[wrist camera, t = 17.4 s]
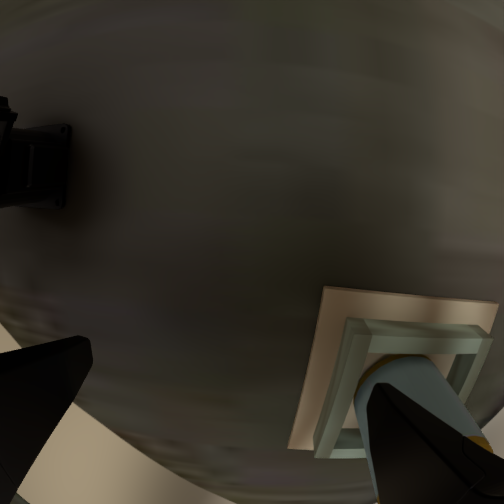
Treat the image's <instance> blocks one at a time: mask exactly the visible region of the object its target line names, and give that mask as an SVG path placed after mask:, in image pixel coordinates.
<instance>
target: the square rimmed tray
mask: <svg viewBox="0 0 504 504" xmlns="http://www.w3.org/2000/svg"><path fill="white" fill-rule="evenodd" d="M498 306H499V304H498V303H496V302H493V301H480V300H467V299H455V298H444V297H432V296H421V295H410V294H400V293H390V292H380V291H370V290H360V289H351V288H342V287H332V286H324V287H323V292H322V298H321V303H320V309H319V314H318V319H317V324H316V329H315V334H314V339H313V343H312V348H311V353H310V357H309V362H308V366H307V371H306V375H305V379H304V383H303V388H302V392H301V396H300V400H299V404H298V408H297V412H296V415H295V419H294V423H293V427H292V431H291V434H290V438H289V441H288V449H301V450H314V458H367V457H366V452H365V448H364V445H363V441H362V437H361V433H360V429H359V425H358V421H357V418H356V414H355V410H354V405H353V396H354V393H355V391H356V388H357V385H358V383H359V381H360V380H361V379H362V377H363V376H364V375H365V373H366V372H367V371H368V370H370V369H371V368H372V367H373V366H375V365H376V364H377V363H379V362H380V361H382V360H384V359H386V358H388V357H390V356H393V355H396V354H422V355H425V356H427V357H428V358H430V360H431V361H432V362H433V363H434V364H435V365H436V367H437V368H438V369H439V371H440V372H441V373H442V375H443V376H444V378H445V379H446V380H447V382H448V383H449V384H450V386H451V387H452V389H453V390H454V391H455V393H456V394H457V396H458V397H459V399H460V400H461V402H462V403H463V404H465V402H466V400H467V398H468V396H469V394H470V392H471V390H472V388H473V386H474V384H475V382H476V380H477V377H478V375H479V373H480V371H481V368H482V366H483V364H484V361H485V359H486V356H487V354H488V352H489V349H490V346H491V344H492V341H493V339H494V338H493V337H491V336H490V335H489V333H490V330H491V328H492V325H493V322H494V319H495V316H496V312H497V309H498Z"/></svg>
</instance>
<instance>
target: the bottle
mask: <svg viewBox="0 0 504 504" xmlns="http://www.w3.org/2000/svg"><path fill="white" fill-rule="evenodd" d="M377 382H387V383H390V384H391V385H392V386H394V387H395V388H397V389H398V390H399V391H401V392H402V393H404V394H405V395H406V396H408V397H409V398H411V399H412V400H414V401H415V402H416V403H418V404H419V405H421V406H422V407H424V408H425V409H426V410H428V411H429V412H431V413H432V414H434V415H435V416H437V417H438V418H439V419H441V420H442V421H444V422H445V423H447V424H448V425H450V426H451V427H453V428H454V429H456V430H457V431H458V432H460V433H461V434H463V436H466V437H467V438H469V439H470V440H472V441H473V442H475V443H476V444H478V445H480V446H481V447H483V448H484V449H486V450H488V451H490V452H491V453H493V450H492V448H491V446H490V445H489V442H488V441H487V439H486V438H485V436H484V435H483V433H482V431H481V430H480V428H479V427H478V425H477V424H476V422H475V421H474V419H473V418H472V416H471V415H470V413H469V412H468V410H467V409H466V407H465V406H464V404H463V403H462V402H461V400H460V399H459V397H458V396H457V394H456V393H455V391H454V390H453V389H452V387H451V386H450V384H449V383H448V382H447V380H446V379H445V378H444V376H443V375H442V373H441V372H440V371H439V369H438V368H437V367H436V365H435V364H434V363H433V362H432V361H431V360H430V358H428V357H427V356H425V355H422V354H396V355H393V356H390V357H388V358H386V359H384V360H382V361H380V362H379V363H377V364H376V365H375V366H373V367H372V368H371V369H370V370H368V371H367V372H366V373H365V375H364V376H363V377H362V379H361V380H360V381H359V383H358V385H357V388H356V391H355V393H354V396H353V405H354V410H355V414H356V418H357V421H358V425H359V429H360V433H361V437H362V441H363V445H364V448H365V452H366V457H367V461H368V465H369V469H370V473H371V477H372V482H373V486H374V490H375V495H376V499H377V503H378V504H380V501H379V496H378V490H377V484H376V479H375V474H374V469H373V463H372V458H371V453H370V446H369V434H368V422H367V412H366V407H367V402H368V400H369V397H370V394H371V392H372V389H373V387H374V385H375V384H376V383H377Z"/></svg>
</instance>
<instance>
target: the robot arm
mask: <svg viewBox="0 0 504 504" xmlns="http://www.w3.org/2000/svg"><path fill="white" fill-rule="evenodd" d="M17 116H18V113H16V112H13V111H11V108H9V106H8V98H6V97H3V96H0V208H4V207H10V206H21V207H35V208H49V209H61V208H63V207H64V206H65V195H66V175H67V161H68V150H69V141H70V132H71V127H70V125H68V124H56V125H49V126H41V127H35V128H28V129H19V128H12V127H13V124H14V121H16V119H17ZM64 129H65V132H64ZM58 201H60V204H59V203H58ZM92 364H93V357H92V350H91V343H90V340H89V339H88V338H86V337H83V336H80V335H77V336H73V337H69V338H65V339H61V340H56V341H52V342H48V343H44V344H39V345H35V346H31V347H26V348H22V349H18V350H13V351H9V352H4V353H0V504H10V502H11V500H12V499H13V497H14V495H15V493H16V492H17V490H18V489H17V488H19V486H20V484H21V483H22V481H23V479H24V478H25V476H26V474H27V472H28V471H29V469H30V467H31V466H32V464H33V463H34V461H35V459H36V458H37V456H38V454H39V453H40V451H41V450H42V448H43V446H44V445H45V443H46V441H47V440H48V439H49V437H50V435H51V434H52V432H53V431H54V429H55V428H56V426H57V425H58V423H59V422H60V420H61V418H62V417H63V415H64V414H65V412H66V411H67V409H68V408H69V406H70V405H71V403H72V402H73V400H74V399H75V397H76V395H77V393H78V391H79V389H80V387H81V386H82V384H83V382H84V380H85V378H86V376H87V374H88V372H89V371H90V369H91V367H92ZM366 412H367V422H368V434H369V446H370V453H371V458H372V463H373V469H374V474H375V479H376V484H377V490H378V496H379V501H380V504H504V459H502V458H500V457H499V456H497V455H495V454H493V453H491V452H490V451H488V450H486V449H484V448H483V447H481V446H480V445H478V444H476V443H475V442H473V441H472V440H470V439H469V438H467V437H466V436H463V434H461V433H460V432H458V431H457V430H456V429H454V428H453V427H451V426H450V425H448V424H447V423H445V422H444V421H442V420H441V419H439V418H438V417H437V416H435V415H434V414H432V413H431V412H429V411H428V410H426V409H425V408H424V407H422V406H421V405H419V404H418V403H416V402H415V401H414V400H412V399H411V398H409V397H408V396H406V395H405V394H404V393H402V392H401V391H399V390H398V389H397V388H395V387H394V386H392V385H391V384H390V383H387V382H377V383H376V384H375V385H374V387H373V389H372V392H371V394H370V397H369V400H368V402H367V407H366Z"/></svg>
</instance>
